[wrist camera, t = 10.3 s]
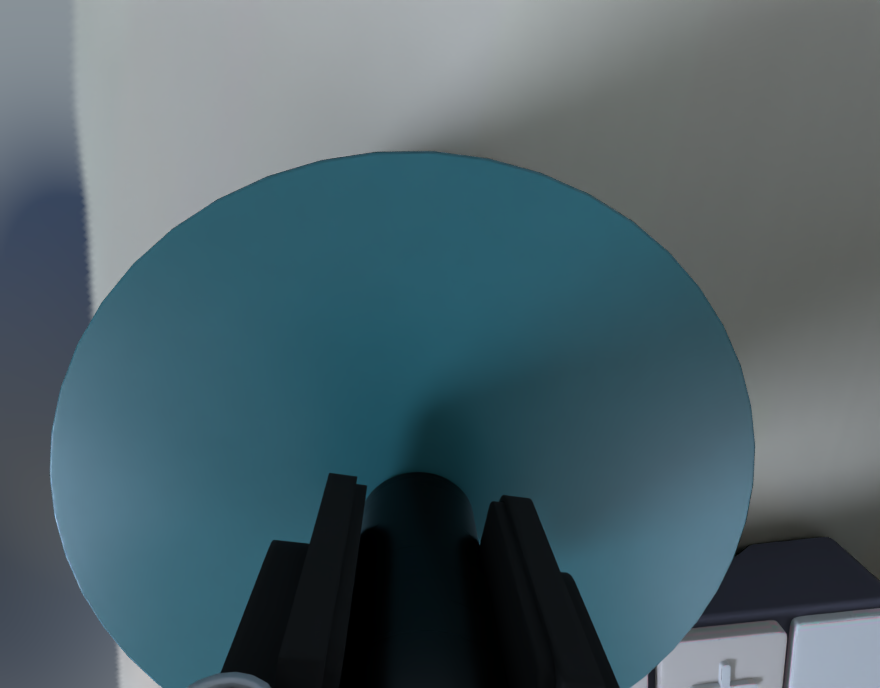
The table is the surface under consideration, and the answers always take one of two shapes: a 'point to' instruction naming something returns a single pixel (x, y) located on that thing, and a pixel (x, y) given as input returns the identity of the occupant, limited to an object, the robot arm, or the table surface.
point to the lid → (401, 416)
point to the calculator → (783, 624)
